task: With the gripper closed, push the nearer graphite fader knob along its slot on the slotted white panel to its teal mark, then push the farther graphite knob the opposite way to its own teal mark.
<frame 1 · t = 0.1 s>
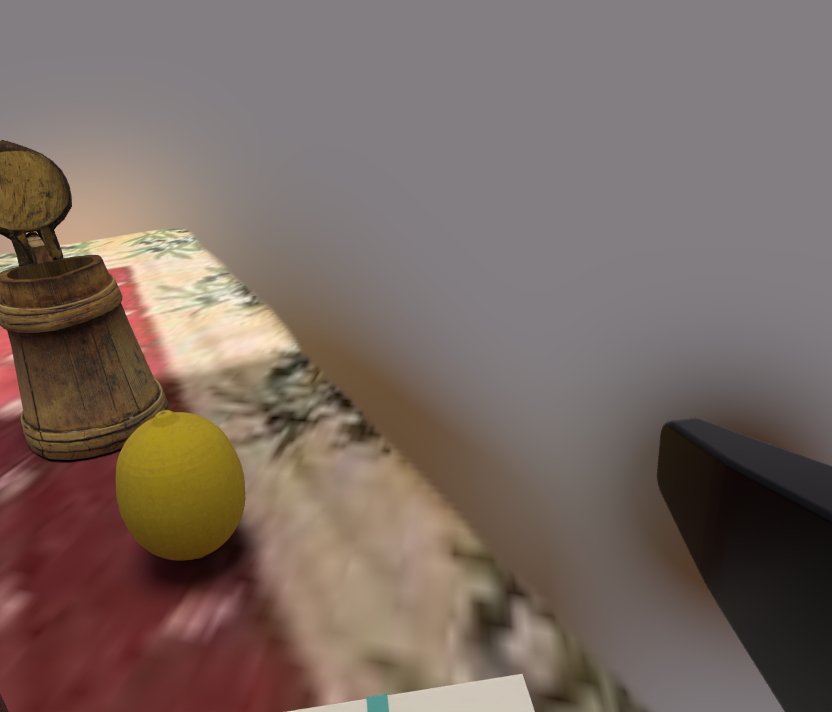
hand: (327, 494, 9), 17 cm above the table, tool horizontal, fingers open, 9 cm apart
lemon: (200, 559, 33), on the table
wooden mug: (95, 414, 47), on the table
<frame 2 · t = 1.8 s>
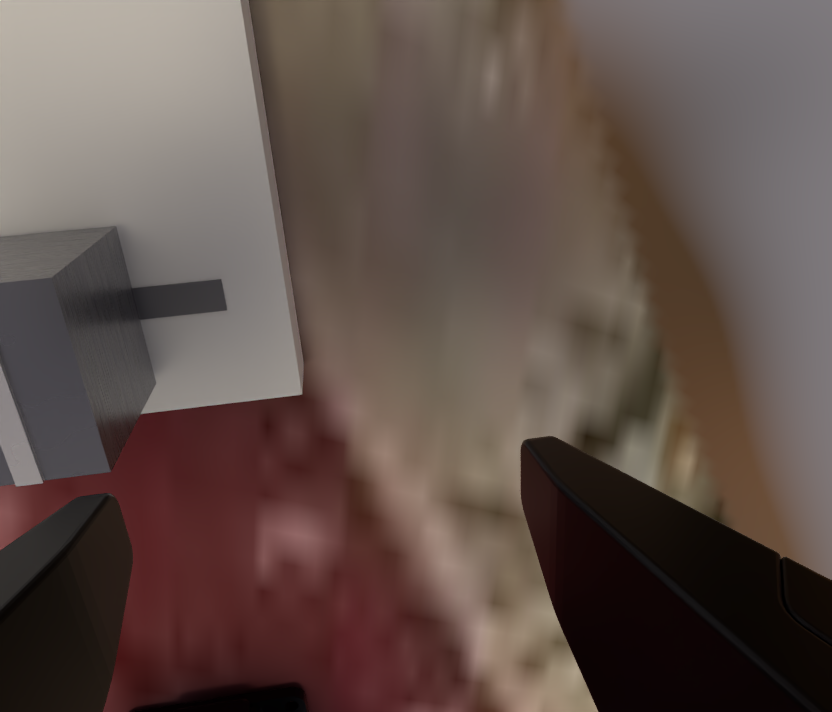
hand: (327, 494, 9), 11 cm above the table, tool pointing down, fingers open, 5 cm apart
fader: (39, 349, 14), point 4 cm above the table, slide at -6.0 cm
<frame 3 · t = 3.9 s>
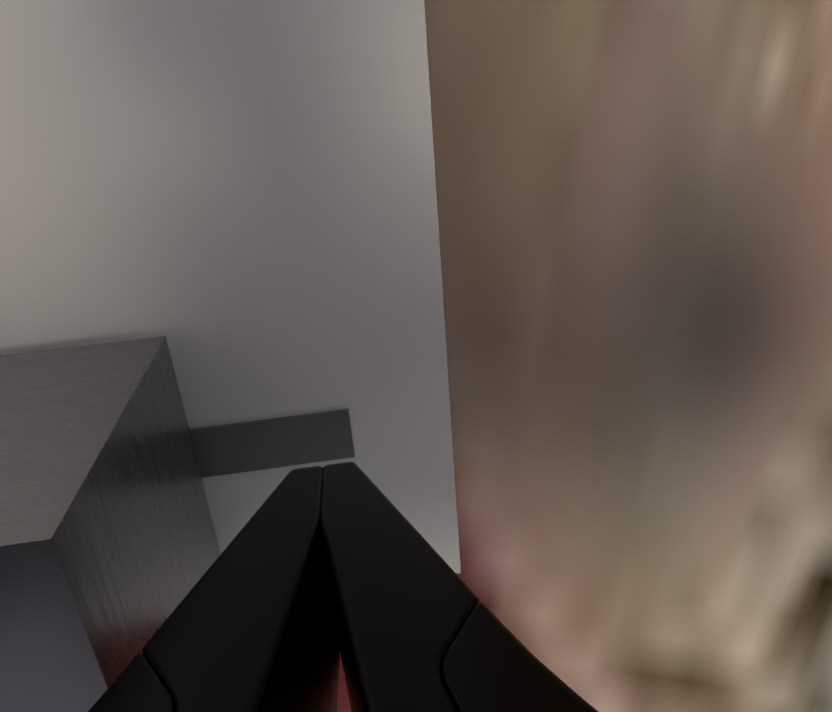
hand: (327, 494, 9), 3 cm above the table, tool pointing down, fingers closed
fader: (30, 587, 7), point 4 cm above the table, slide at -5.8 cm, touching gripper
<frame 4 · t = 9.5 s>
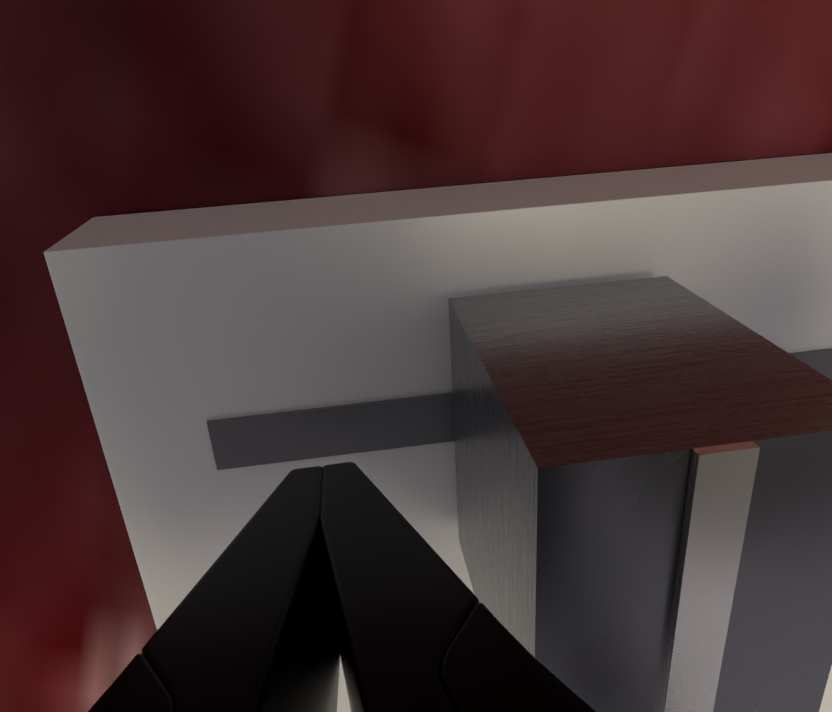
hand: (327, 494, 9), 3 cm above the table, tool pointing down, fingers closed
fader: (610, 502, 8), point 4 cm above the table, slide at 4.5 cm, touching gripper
slotted white panel: (713, 576, 15), on the table
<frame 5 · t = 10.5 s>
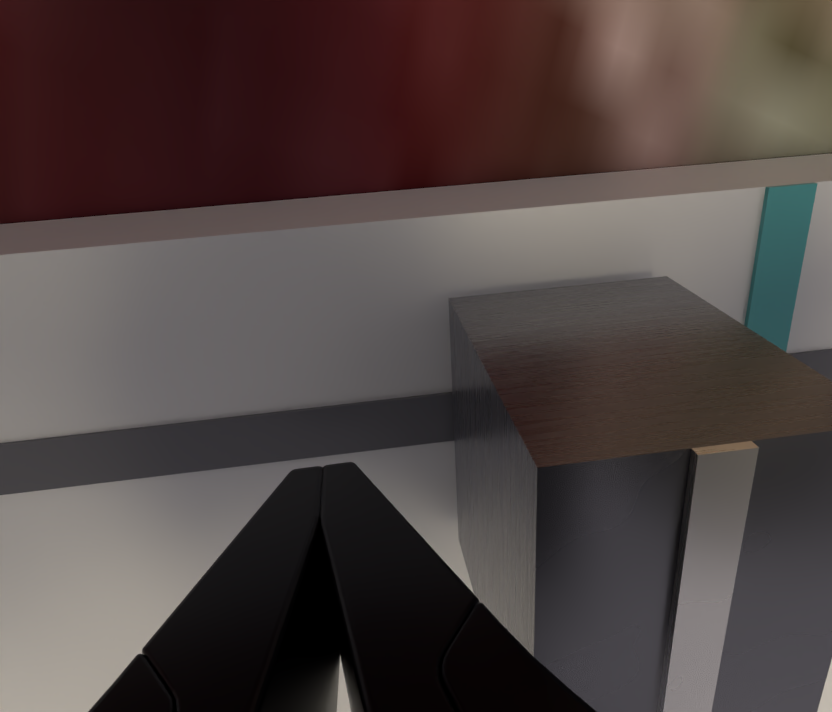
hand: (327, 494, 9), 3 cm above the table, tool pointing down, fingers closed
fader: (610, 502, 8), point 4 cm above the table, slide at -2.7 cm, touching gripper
slotted white panel: (391, 622, 14), on the table
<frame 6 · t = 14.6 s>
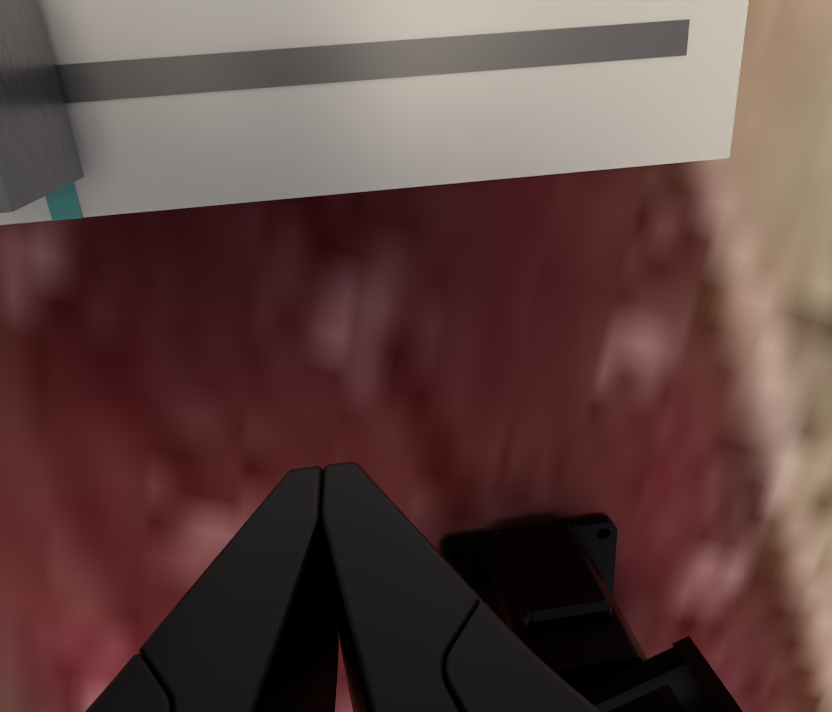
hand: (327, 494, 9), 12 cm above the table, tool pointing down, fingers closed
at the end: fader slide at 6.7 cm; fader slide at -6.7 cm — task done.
